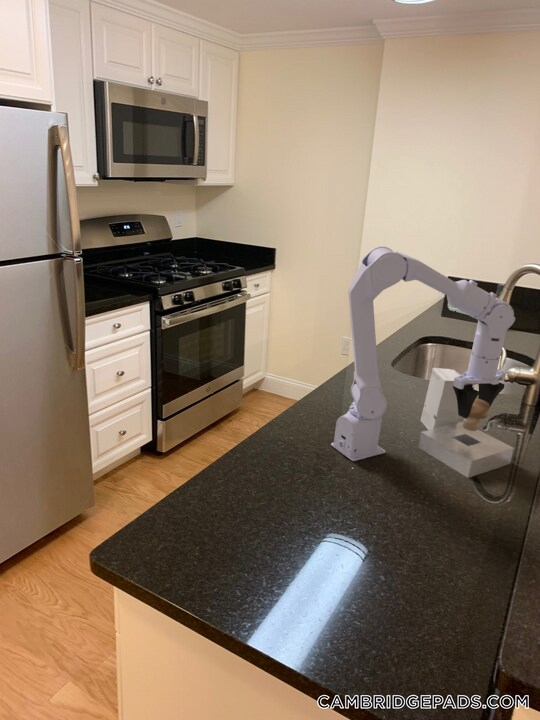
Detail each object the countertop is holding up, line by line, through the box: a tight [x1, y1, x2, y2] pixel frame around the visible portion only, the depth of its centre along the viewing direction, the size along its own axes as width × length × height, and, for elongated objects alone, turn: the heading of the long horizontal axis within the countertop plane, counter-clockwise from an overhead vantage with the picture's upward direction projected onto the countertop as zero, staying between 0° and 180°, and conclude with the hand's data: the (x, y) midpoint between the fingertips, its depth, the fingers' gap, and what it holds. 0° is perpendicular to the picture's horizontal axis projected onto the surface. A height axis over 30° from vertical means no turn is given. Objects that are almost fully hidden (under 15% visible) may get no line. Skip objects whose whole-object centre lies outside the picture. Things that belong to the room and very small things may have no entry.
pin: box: [462, 397, 491, 431], centre depth 116 cm, size 6×6×6 cm
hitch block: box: [417, 421, 515, 479], centre depth 119 cm, size 14×14×4 cm
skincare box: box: [420, 367, 461, 430], centre depth 129 cm, size 8×6×15 cm
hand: (472, 414), depth 116 cm, fingers closed on pin, 6 cm apart
